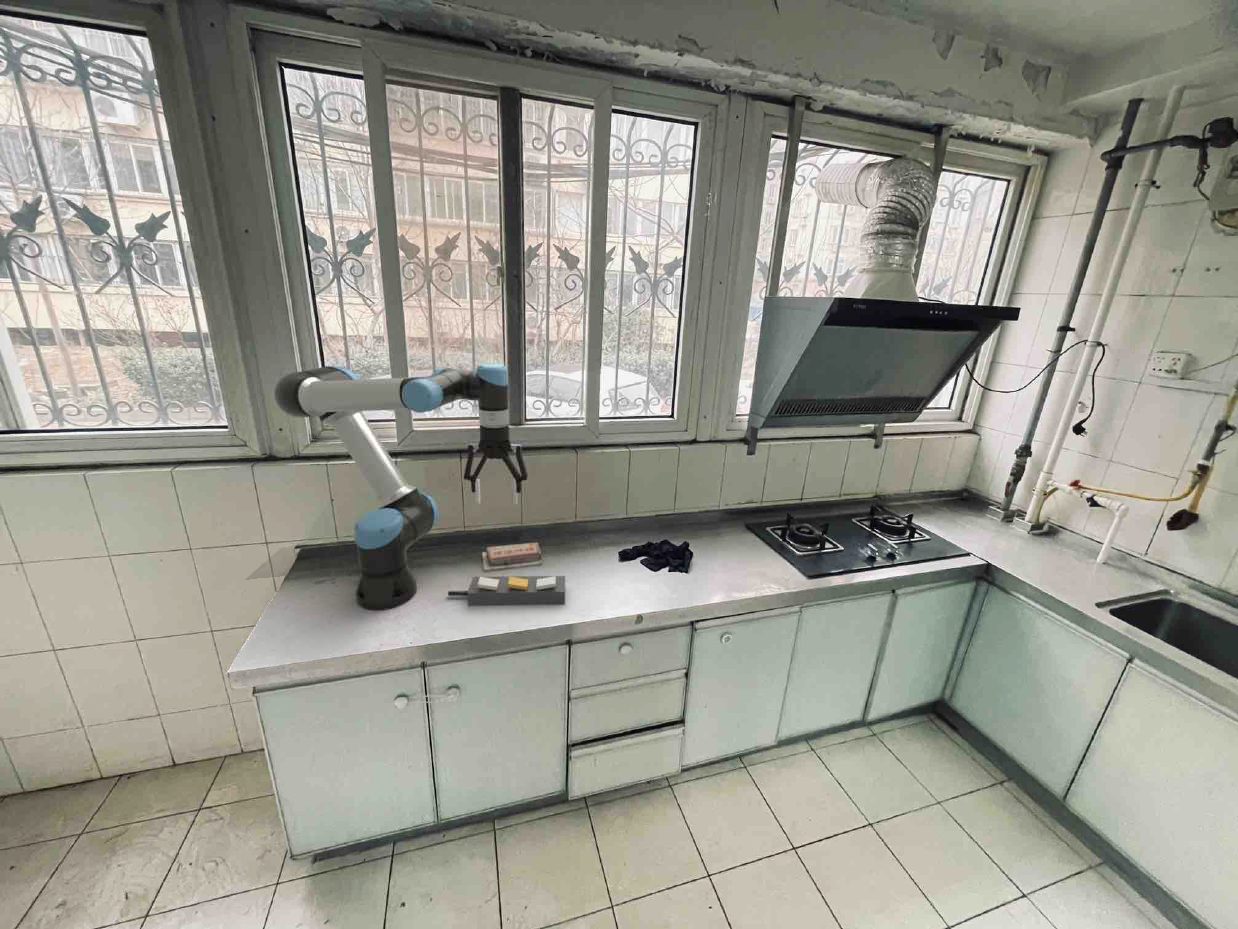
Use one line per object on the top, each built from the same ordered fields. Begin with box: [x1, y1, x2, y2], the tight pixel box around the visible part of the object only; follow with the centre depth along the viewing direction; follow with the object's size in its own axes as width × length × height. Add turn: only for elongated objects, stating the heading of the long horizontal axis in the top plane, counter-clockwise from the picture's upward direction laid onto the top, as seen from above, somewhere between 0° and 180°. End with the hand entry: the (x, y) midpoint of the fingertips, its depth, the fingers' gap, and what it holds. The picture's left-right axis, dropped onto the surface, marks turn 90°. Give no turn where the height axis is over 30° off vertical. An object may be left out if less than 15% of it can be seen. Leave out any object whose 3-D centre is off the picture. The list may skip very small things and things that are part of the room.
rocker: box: [536, 575, 557, 590], centre depth 135 cm, size 5×4×1 cm
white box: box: [477, 576, 499, 590], centre depth 134 cm, size 5×4×1 cm
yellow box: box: [508, 577, 528, 590], centre depth 134 cm, size 5×4×1 cm
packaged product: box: [481, 542, 543, 572], centre depth 155 cm, size 18×5×10 cm
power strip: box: [447, 575, 566, 607], centre depth 136 cm, size 32×8×4 cm, turn 95°
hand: (497, 502), depth 135 cm, fingers open, 9 cm apart
